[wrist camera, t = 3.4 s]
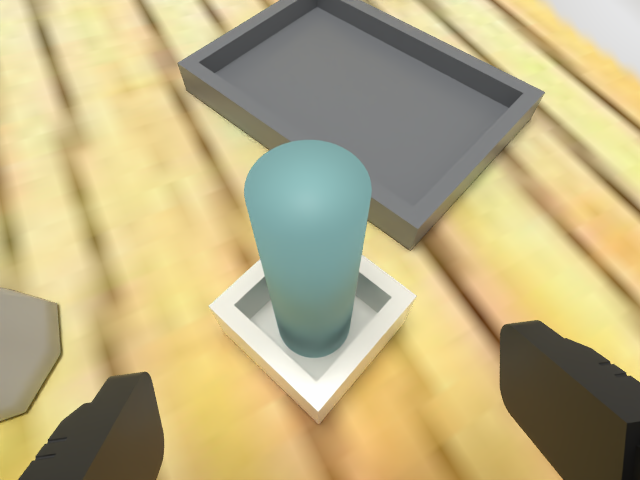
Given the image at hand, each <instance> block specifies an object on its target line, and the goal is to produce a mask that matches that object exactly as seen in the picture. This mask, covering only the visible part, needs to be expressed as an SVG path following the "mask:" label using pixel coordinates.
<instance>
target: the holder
mask: <svg viewBox="0 0 640 480" xmlns="http://www.w3.org/2000/svg"><path fill="white" fill-rule="evenodd" d="M416 297H417V296H416V295H415V294H414V293H412V292H411V291H410V290H408V289H407V288H406V287H404V286H403V285H402V284H400V283H399V282H398V281H396V280H395V279H394V278H392V277H391V276H390V275H388V274H387V273H386V272H385V271H383V270H382V269H381V268H379V267H378V266H377V265H375V264H374V263H373V262H371V261H370V260H369V259H367V258H366V257H365V256H363V255H362V256H361V262H360V268H359V274H358V280H357V286H356V292H355V299H354V305H353V311H352V317H351V323H350V329H349V333H348V336H347V338H346V340H345V342H344V343H343V344H342V346H341V347H340V348H339V349H337V350H336V351H335V352H333V353H331V354H329V355H327V356H324V357H319V358H309V357H304V356H301V355H298V354H296V353H295V352H293V351H292V350H290V349H289V348H288V347H287V346H286V345H285V343H284V342H283V340H282V338H281V336H280V333H279V329H278V326H277V322H276V318H275V314H274V310H273V306H272V302H271V299H270V295H269V291H268V287H267V283H266V279H265V275H264V271H263V268H262V264H261V260H259V261H257V262H256V263H255V264H254V265H253V266H252V267H251V268H250V269H249V270H248V271H246V272H245V273H244V274H243V275H242V276H241V277H240V278H239V279H238V280H237V281H235V282H234V283H233V284H232V285H231V286H230V287H229V288H228V289H227V290H226V291H224V292H223V293H222V294H221V295H220V296H219V297H218V298H217V299H216V300H215V301H213V302H212V303H211V304H210V305H209V306H208V307H209V308H210V310H211V312H212V313H213V315H214V317H215V318H216V320H217V322H218V323H219V325H220V327H221V328H222V330H223V332H224V333H225V334H226V335H227V336H228V337H229V338H230V339H231V340H232V341H233V342H234V343H235V344H236V345H238V346H239V347H240V348H241V349H242V350H243V351H244V352H245V353H246V354H247V355H248V356H249V357H250V358H251V359H252V360H253V361H254V362H255V363H256V364H257V365H258V366H259V367H260V368H261V369H262V370H263V371H264V372H265V373H266V374H267V375H268V376H269V377H270V378H271V379H272V380H274V381H275V382H276V383H277V384H278V385H279V386H280V387H281V388H282V389H283V390H284V391H285V392H286V393H287V394H288V395H289V396H290V397H291V398H292V399H293V400H294V401H295V402H296V403H297V404H298V405H299V406H300V407H301V408H302V409H303V410H304V411H305V412H306V413H307V414H308V415H309V416H311V417H312V418H313V419H314V420H315V421H316V422H317V423H318V424H320V423H321V421H322V420H323V419H324V418H325V417H326V415H327V414H328V413H329V412H330V411H331V409H332V408H333V407H334V406H335V405H336V404H337V402H338V401H339V400H340V399H341V398H342V396H343V395H344V394H345V393H346V392H347V390H348V389H349V388H350V387H351V386H352V384H353V383H354V382H355V381H356V380H357V378H358V377H359V376H360V375H361V374H362V373H363V371H364V370H365V369H366V368H367V367H368V365H369V364H370V363H371V362H372V361H373V359H374V358H375V357H376V356H377V355H378V353H379V352H380V351H381V350H382V349H383V347H384V346H385V345H386V344H387V343H388V342H389V340H390V339H391V338H392V337H393V336H394V334H395V333H396V332H397V331H398V330H399V328H400V327H401V326H402V325H403V324H404V322H405V320H406V318H407V316H408V314H409V312H410V309H411V307H412V305H413V303H414V301H415V299H416Z"/></svg>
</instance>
